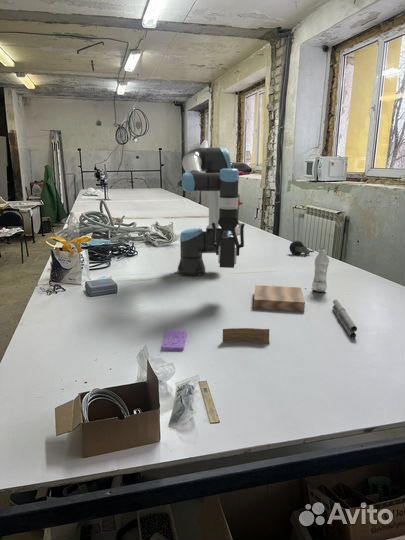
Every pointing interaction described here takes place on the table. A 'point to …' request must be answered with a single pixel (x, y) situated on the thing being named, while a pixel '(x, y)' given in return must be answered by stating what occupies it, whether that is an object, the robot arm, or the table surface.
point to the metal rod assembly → (344, 319)
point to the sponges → (174, 340)
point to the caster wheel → (299, 248)
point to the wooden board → (279, 298)
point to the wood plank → (246, 335)
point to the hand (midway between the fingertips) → (227, 262)
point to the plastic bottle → (320, 271)
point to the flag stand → (238, 226)
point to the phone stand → (227, 252)
